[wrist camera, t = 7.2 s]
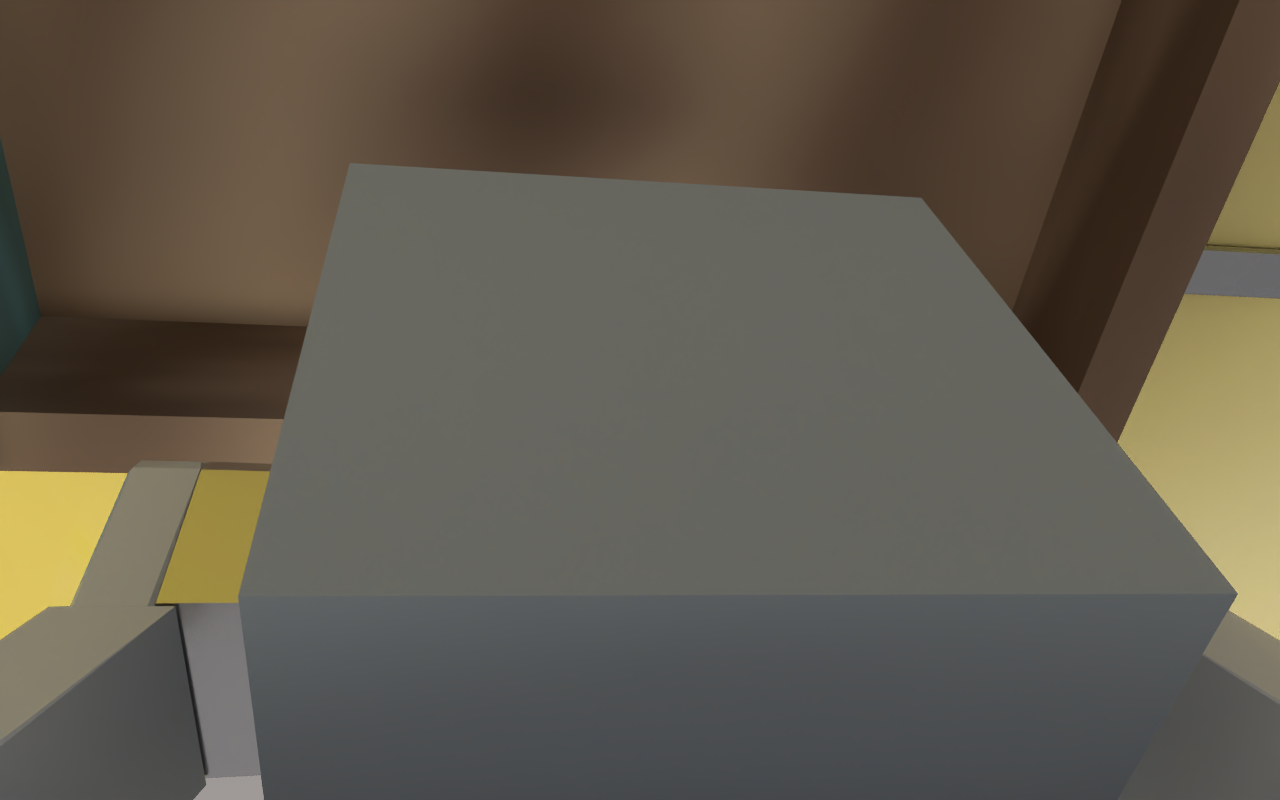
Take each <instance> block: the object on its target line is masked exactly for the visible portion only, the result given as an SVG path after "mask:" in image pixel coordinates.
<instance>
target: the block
mask: <svg viewBox="0 0 1280 800" xmlns="http://www.w3.org/2000/svg"><path fill="white" fill-rule="evenodd" d="M1237 594H1238V593H1237V592H1236V591H1235V590H1234V588H1233V587H1232V586H1231V585H1230V583H1229V582H1228V581H1227V580H1226V578H1225V577H1224V576H1223V575H1222V573H1221V572H1220V571H1219V570H1218V568H1217V567H1216V566H1215V565H1214V563H1213V562H1212V561H1211V560H1210V558H1209V557H1208V556H1207V555H1206V553H1205V552H1204V551H1203V550H1202V548H1201V547H1200V546H1199V545H1198V543H1197V542H1196V541H1195V540H1194V538H1193V537H1192V536H1191V535H1190V533H1189V532H1188V531H1187V530H1186V528H1185V527H1184V526H1183V525H1182V523H1181V522H1180V521H1179V520H1178V518H1177V517H1176V516H1175V515H1174V513H1173V512H1172V511H1171V510H1170V508H1169V507H1168V506H1167V505H1166V503H1165V502H1164V501H1163V500H1162V498H1161V497H1160V496H1159V495H1158V493H1157V492H1156V491H1155V490H1154V488H1153V487H1152V486H1151V485H1150V483H1149V482H1148V481H1147V480H1146V478H1145V477H1144V476H1143V475H1142V473H1141V472H1140V471H1139V470H1138V468H1137V467H1136V466H1135V465H1134V463H1133V462H1132V461H1131V460H1130V458H1129V457H1128V456H1127V455H1126V453H1125V452H1124V451H1123V450H1122V448H1121V447H1120V446H1119V444H1118V443H1117V442H1116V441H1115V439H1114V438H1113V437H1112V436H1111V434H1110V433H1109V432H1108V431H1107V429H1106V428H1105V427H1104V426H1103V424H1102V423H1101V422H1100V421H1099V419H1098V418H1097V417H1096V416H1095V414H1094V413H1093V412H1092V411H1091V409H1090V408H1089V407H1088V406H1087V404H1086V403H1085V402H1084V401H1083V399H1082V398H1081V397H1080V396H1079V394H1078V393H1077V392H1076V391H1075V389H1074V388H1073V387H1072V386H1071V384H1070V383H1069V382H1068V381H1067V379H1066V378H1065V377H1064V376H1063V374H1062V373H1061V372H1060V371H1059V369H1058V368H1057V367H1056V366H1055V364H1054V363H1053V362H1052V361H1051V359H1050V358H1049V357H1048V356H1047V354H1046V353H1045V352H1044V351H1043V349H1042V348H1041V347H1040V346H1039V344H1038V343H1037V342H1036V341H1035V339H1034V338H1033V337H1032V336H1031V334H1030V333H1029V332H1028V331H1027V329H1026V328H1025V327H1024V326H1023V324H1022V323H1021V322H1020V321H1019V319H1018V318H1017V317H1016V316H1015V314H1014V313H1013V312H1012V311H1011V309H1010V308H1009V307H1008V306H1007V304H1006V303H1005V302H1004V301H1003V299H1002V298H1001V297H1000V296H999V294H998V293H997V292H996V291H995V289H994V288H993V287H992V286H991V284H990V283H989V282H988V281H987V279H986V278H985V277H984V276H983V274H982V273H981V272H980V271H979V269H978V268H977V267H976V266H975V264H974V263H973V262H972V261H971V259H970V258H969V257H968V256H967V254H966V253H965V252H964V251H963V249H962V248H961V247H960V246H959V244H958V243H957V242H956V241H955V239H954V238H953V237H952V236H951V234H950V233H949V232H948V231H947V229H946V228H945V227H944V226H943V224H942V223H941V222H940V221H939V219H938V218H937V217H936V216H935V214H934V213H933V212H932V211H931V209H930V208H929V207H928V206H927V204H926V203H925V202H924V201H923V199H922V198H916V197H900V196H884V195H867V194H851V193H834V192H818V191H801V190H785V189H768V188H752V187H736V186H719V185H703V184H686V183H670V182H653V181H637V180H620V179H604V178H587V177H571V176H555V175H538V174H522V173H505V172H489V171H472V170H456V169H439V168H423V167H406V166H390V165H374V164H357V163H350V164H349V168H348V172H347V176H346V180H345V183H344V187H343V191H342V195H341V199H340V203H339V207H338V211H337V214H336V218H335V222H334V226H333V230H332V234H331V238H330V242H329V245H328V249H327V253H326V257H325V261H324V265H323V269H322V273H321V276H320V280H319V284H318V288H317V292H316V296H315V300H314V304H313V307H312V311H311V315H310V319H309V323H308V327H307V331H306V335H305V339H304V342H303V346H302V350H301V354H300V358H299V362H298V366H297V370H296V373H295V377H294V381H293V385H292V389H291V393H290V397H289V401H288V404H287V408H286V412H285V416H284V420H283V424H282V428H281V432H280V435H279V439H278V443H277V447H276V451H275V455H274V459H273V463H272V466H271V470H270V474H269V478H268V482H267V486H266V490H265V494H264V497H263V501H262V505H261V509H260V513H259V517H258V521H257V525H256V528H255V532H254V536H253V540H252V544H251V548H250V552H249V556H248V559H247V563H246V567H245V571H244V575H243V579H242V583H241V587H240V590H239V594H238V601H239V608H240V616H241V624H242V632H243V639H244V647H245V655H246V663H247V670H248V678H249V686H250V694H251V701H252V709H253V717H254V725H255V732H256V740H257V748H258V756H259V763H260V771H261V779H262V787H263V794H264V800H1118V798H1119V796H1120V795H1121V793H1122V791H1123V790H1124V788H1125V786H1126V784H1127V783H1128V781H1129V779H1130V778H1131V776H1132V774H1133V772H1134V771H1135V769H1136V767H1137V766H1138V764H1139V762H1140V760H1141V759H1142V757H1143V755H1144V754H1145V752H1146V750H1147V748H1148V747H1149V745H1150V743H1151V742H1152V740H1153V738H1154V736H1155V735H1156V733H1157V731H1158V730H1159V728H1160V726H1161V724H1162V723H1163V721H1164V719H1165V718H1166V716H1167V714H1168V712H1169V711H1170V709H1171V707H1172V706H1173V704H1174V702H1175V700H1176V699H1177V697H1178V695H1179V694H1180V692H1181V690H1182V688H1183V687H1184V685H1185V683H1186V682H1187V680H1188V678H1189V677H1190V675H1191V673H1192V671H1193V670H1194V668H1195V666H1196V665H1197V663H1198V661H1199V659H1200V658H1201V656H1202V654H1203V653H1204V651H1205V649H1206V647H1207V646H1208V644H1209V642H1210V641H1211V639H1212V637H1213V635H1214V634H1215V632H1216V630H1217V629H1218V627H1219V625H1220V623H1221V622H1222V620H1223V618H1224V617H1225V615H1226V613H1227V611H1228V610H1229V608H1230V606H1231V605H1232V603H1233V601H1234V599H1235V598H1236V596H1237Z"/></svg>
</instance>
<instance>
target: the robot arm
mask: <svg viewBox="0 0 1280 800" xmlns="http://www.w3.org/2000/svg"><path fill="white" fill-rule="evenodd" d="M271 466H272V464H262V463H235V462H208V463H203V462H189V461H151V460H141V461H140V462H139V463H138V464H136V465H135V466H134V467H133V468H132V469H131V470H130V471H129V472H128V474H127V477H126V479H125V481H124V484H123V486H122V488H121V491H120V493H119V495H118V497H117V500H116V502H115V504H114V507H113V509H112V511H111V513H110V516H109V518H108V520H107V523H106V525H105V527H104V530H103V532H102V534H101V536H100V539H99V541H98V543H97V546H96V548H95V550H94V553H93V555H92V557H91V559H90V562H89V564H88V566H87V569H86V571H85V573H84V576H83V578H82V580H81V582H80V585H79V587H78V589H77V592H76V594H75V596H74V599H73V601H72V603H71V605H70V606H62V607H48V608H46V609H45V610H43V611H42V612H40V613H39V614H37V615H36V616H34V617H33V618H32V619H30V620H29V621H27V622H26V623H24V624H23V625H21V626H20V627H18V628H17V629H16V630H14V631H13V632H11V633H10V634H8V635H7V636H5V637H4V638H2V639H1V640H0V800H193V799H194V798H195V797H196V796H197V795H198V794H199V792H200V791H201V790H202V789H203V788H204V787H205V785H206V781H205V778H217V777H236V776H253V775H261V771H260V763H259V756H258V748H257V740H256V732H255V725H254V717H253V709H252V701H251V694H250V686H249V678H248V670H247V663H246V655H245V647H244V639H243V632H242V624H241V616H240V608H239V601H238V594H239V590H240V587H241V583H242V579H243V575H244V571H245V567H246V563H247V559H248V556H249V552H250V548H251V544H252V540H253V536H254V532H255V528H256V525H257V521H258V517H259V513H260V509H261V505H262V501H263V497H264V494H265V490H266V486H267V482H268V478H269V474H270V470H271ZM1118 800H1280V641H1279V640H1278V639H1276V638H1274V637H1273V636H1271V635H1269V634H1268V633H1266V632H1264V631H1263V630H1261V629H1259V628H1258V627H1256V626H1254V625H1252V624H1251V623H1249V622H1247V621H1246V620H1244V619H1242V618H1241V617H1239V616H1237V615H1236V614H1234V613H1232V612H1230V611H1229V610H1228V611H1227V613H1226V615H1225V617H1224V618H1223V620H1222V622H1221V623H1220V625H1219V627H1218V629H1217V630H1216V632H1215V634H1214V635H1213V637H1212V639H1211V641H1210V642H1209V644H1208V646H1207V647H1206V649H1205V651H1204V653H1203V654H1202V656H1201V658H1200V659H1199V661H1198V663H1197V665H1196V666H1195V668H1194V670H1193V671H1192V673H1191V675H1190V677H1189V678H1188V680H1187V682H1186V683H1185V685H1184V687H1183V688H1182V690H1181V692H1180V694H1179V695H1178V697H1177V699H1176V700H1175V702H1174V704H1173V706H1172V707H1171V709H1170V711H1169V712H1168V714H1167V716H1166V718H1165V719H1164V721H1163V723H1162V724H1161V726H1160V728H1159V730H1158V731H1157V733H1156V735H1155V736H1154V738H1153V740H1152V742H1151V743H1150V745H1149V747H1148V748H1147V750H1146V752H1145V754H1144V755H1143V757H1142V759H1141V760H1140V762H1139V764H1138V766H1137V767H1136V769H1135V771H1134V772H1133V774H1132V776H1131V778H1130V779H1129V781H1128V783H1127V784H1126V786H1125V788H1124V790H1123V791H1122V793H1121V795H1120V796H1119V798H1118Z"/></svg>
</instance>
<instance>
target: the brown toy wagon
mask: <svg viewBox="0 0 1280 800" xmlns="http://www.w3.org/2000/svg"><path fill="white" fill-rule="evenodd" d="M1279 82H1280V0H0V471H47V472H103V473H128V472H129V471H130V470H131V469H132V468H133V467H134V466H135V465H136V464H138V463H139V462H140V461H141V460H151V461H189V462H203V463H208V462H235V463H262V464H272V463H273V459H274V455H275V451H276V447H277V443H278V439H279V435H280V432H281V428H282V424H283V420H284V416H285V412H286V408H287V404H288V401H289V397H290V393H291V389H292V385H293V381H294V377H295V373H296V370H297V366H298V362H299V358H300V354H301V350H302V346H303V342H304V339H305V335H306V331H307V327H308V323H309V319H310V315H311V311H312V307H313V304H314V300H315V296H316V292H317V288H318V284H319V280H320V276H321V273H322V269H323V265H324V261H325V257H326V253H327V249H328V245H329V242H330V238H331V234H332V230H333V226H334V222H335V218H336V214H337V211H338V207H339V203H340V199H341V195H342V191H343V187H344V183H345V180H346V176H347V172H348V168H349V164H350V163H357V164H374V165H390V166H406V167H423V168H439V169H456V170H472V171H489V172H505V173H522V174H538V175H555V176H571V177H587V178H604V179H620V180H637V181H653V182H670V183H686V184H703V185H719V186H736V187H752V188H768V189H785V190H801V191H818V192H834V193H851V194H867V195H884V196H900V197H916V198H922V199H923V201H924V202H925V203H926V204H927V206H928V207H929V208H930V209H931V211H932V212H933V213H934V214H935V216H936V217H937V218H938V219H939V221H940V222H941V223H942V224H943V226H944V227H945V228H946V229H947V231H948V232H949V233H950V234H951V236H952V237H953V238H954V239H955V241H956V242H957V243H958V244H959V246H960V247H961V248H962V249H963V251H964V252H965V253H966V254H967V256H968V257H969V258H970V259H971V261H972V262H973V263H974V264H975V266H976V267H977V268H978V269H979V271H980V272H981V273H982V274H983V276H984V277H985V278H986V279H987V281H988V282H989V283H990V284H991V286H992V287H993V288H994V289H995V291H996V292H997V293H998V294H999V296H1000V297H1001V298H1002V299H1003V301H1004V302H1005V303H1006V304H1007V306H1008V307H1009V308H1010V309H1011V311H1012V312H1013V313H1014V314H1015V316H1016V317H1017V318H1018V319H1019V321H1020V322H1021V323H1022V324H1023V326H1024V327H1025V328H1026V329H1027V331H1028V332H1029V333H1030V334H1031V336H1032V337H1033V338H1034V339H1035V341H1036V342H1037V343H1038V344H1039V346H1040V347H1041V348H1042V349H1043V351H1044V352H1045V353H1046V354H1047V356H1048V357H1049V358H1050V359H1051V361H1052V362H1053V363H1054V364H1055V366H1056V367H1057V368H1058V369H1059V371H1060V372H1061V373H1062V374H1063V376H1064V377H1065V378H1066V379H1067V381H1068V382H1069V383H1070V384H1071V386H1072V387H1073V388H1074V389H1075V391H1076V392H1077V393H1078V394H1079V396H1080V397H1081V398H1082V399H1083V401H1084V402H1085V403H1086V404H1087V406H1088V407H1089V408H1090V409H1091V411H1092V412H1093V413H1094V414H1095V416H1096V417H1097V418H1098V419H1099V421H1100V422H1101V423H1102V424H1103V426H1104V427H1105V428H1106V429H1107V431H1108V432H1109V433H1110V434H1111V436H1112V437H1113V438H1114V439H1115V441H1116V442H1118V440H1119V437H1120V435H1121V433H1122V431H1123V429H1124V426H1125V424H1126V422H1127V420H1128V417H1129V415H1130V413H1131V411H1132V409H1133V406H1134V404H1135V402H1136V400H1137V397H1138V395H1139V393H1140V391H1141V389H1142V386H1143V384H1144V382H1145V380H1146V377H1147V375H1148V373H1149V371H1150V369H1151V366H1152V364H1153V362H1154V360H1155V357H1156V355H1157V353H1158V351H1159V349H1160V346H1161V344H1162V342H1163V340H1164V337H1165V335H1166V333H1167V331H1168V329H1169V326H1170V324H1171V322H1172V320H1173V317H1174V315H1175V313H1176V311H1177V309H1178V306H1179V304H1180V302H1181V300H1182V297H1183V295H1184V293H1185V291H1186V289H1187V286H1188V284H1189V282H1190V280H1191V277H1192V275H1193V273H1194V271H1195V269H1196V266H1197V264H1198V262H1199V260H1200V257H1201V255H1202V253H1203V251H1204V249H1205V246H1206V244H1207V242H1208V240H1209V237H1210V235H1211V233H1212V231H1213V229H1214V226H1215V224H1216V222H1217V220H1218V217H1219V215H1220V213H1221V211H1222V209H1223V206H1224V204H1225V202H1226V200H1227V197H1228V195H1229V193H1230V191H1231V189H1232V186H1233V184H1234V182H1235V180H1236V177H1237V175H1238V173H1239V171H1240V169H1241V166H1242V164H1243V162H1244V160H1245V157H1246V155H1247V153H1248V151H1249V149H1250V146H1251V144H1252V142H1253V140H1254V137H1255V135H1256V133H1257V131H1258V129H1259V126H1260V124H1261V122H1262V120H1263V117H1264V115H1265V113H1266V111H1267V109H1268V106H1269V104H1270V102H1271V100H1272V97H1273V95H1274V93H1275V91H1276V89H1277V86H1278V84H1279Z"/></svg>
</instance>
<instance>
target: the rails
mask: <svg viewBox="0 0 1280 800" xmlns="http://www.w3.org/2000/svg"><path fill="white" fill-rule="evenodd" d="M1184 294H1199V295H1219V296H1239V297H1259V298H1279V299H1280V249H1264V248H1246V247H1229V246H1212V245H1206V246H1205V249H1204V251H1203V253H1202V255H1201V257H1200V260H1199V262H1198V264H1197V266H1196V269H1195V271H1194V273H1193V275H1192V277H1191V280H1190V282H1189V284H1188V286H1187V289H1186V291H1185V293H1184Z"/></svg>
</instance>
